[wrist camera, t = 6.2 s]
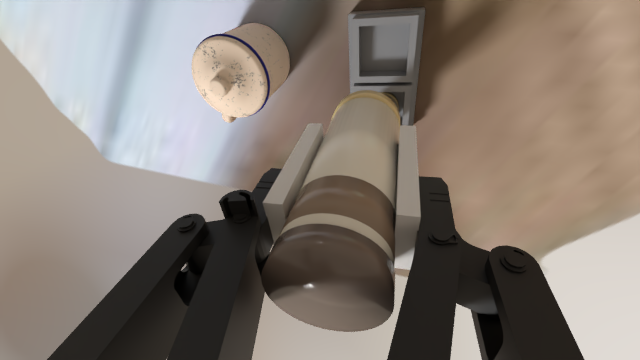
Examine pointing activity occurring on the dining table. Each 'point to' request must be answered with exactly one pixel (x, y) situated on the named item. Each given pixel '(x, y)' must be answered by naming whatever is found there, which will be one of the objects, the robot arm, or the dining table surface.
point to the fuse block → (387, 54)
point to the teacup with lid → (240, 69)
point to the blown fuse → (343, 224)
